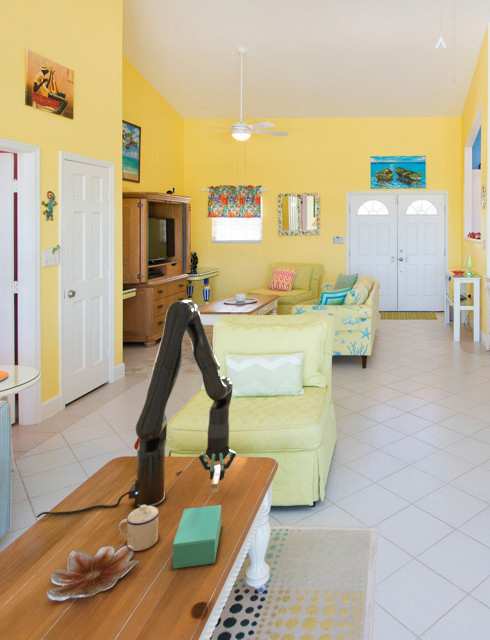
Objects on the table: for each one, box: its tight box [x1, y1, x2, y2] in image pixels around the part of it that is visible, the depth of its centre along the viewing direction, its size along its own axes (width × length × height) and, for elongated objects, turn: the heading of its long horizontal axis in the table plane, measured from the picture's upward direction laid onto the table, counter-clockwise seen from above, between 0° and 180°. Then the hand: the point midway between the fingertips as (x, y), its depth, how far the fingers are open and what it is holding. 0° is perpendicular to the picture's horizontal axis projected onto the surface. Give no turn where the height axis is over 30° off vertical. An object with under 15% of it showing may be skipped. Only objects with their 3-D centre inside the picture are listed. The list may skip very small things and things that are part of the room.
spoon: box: [210, 463, 227, 494], centre depth 171 cm, size 17×5×3 cm, turn 12°
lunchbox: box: [172, 509, 222, 569], centre depth 146 cm, size 18×12×7 cm, turn 13°
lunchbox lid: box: [172, 504, 222, 548], centre depth 145 cm, size 18×12×1 cm, turn 13°
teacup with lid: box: [118, 505, 160, 552], centre depth 147 cm, size 12×9×12 cm
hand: (217, 479), depth 171 cm, fingers closed on spoon, 2 cm apart
